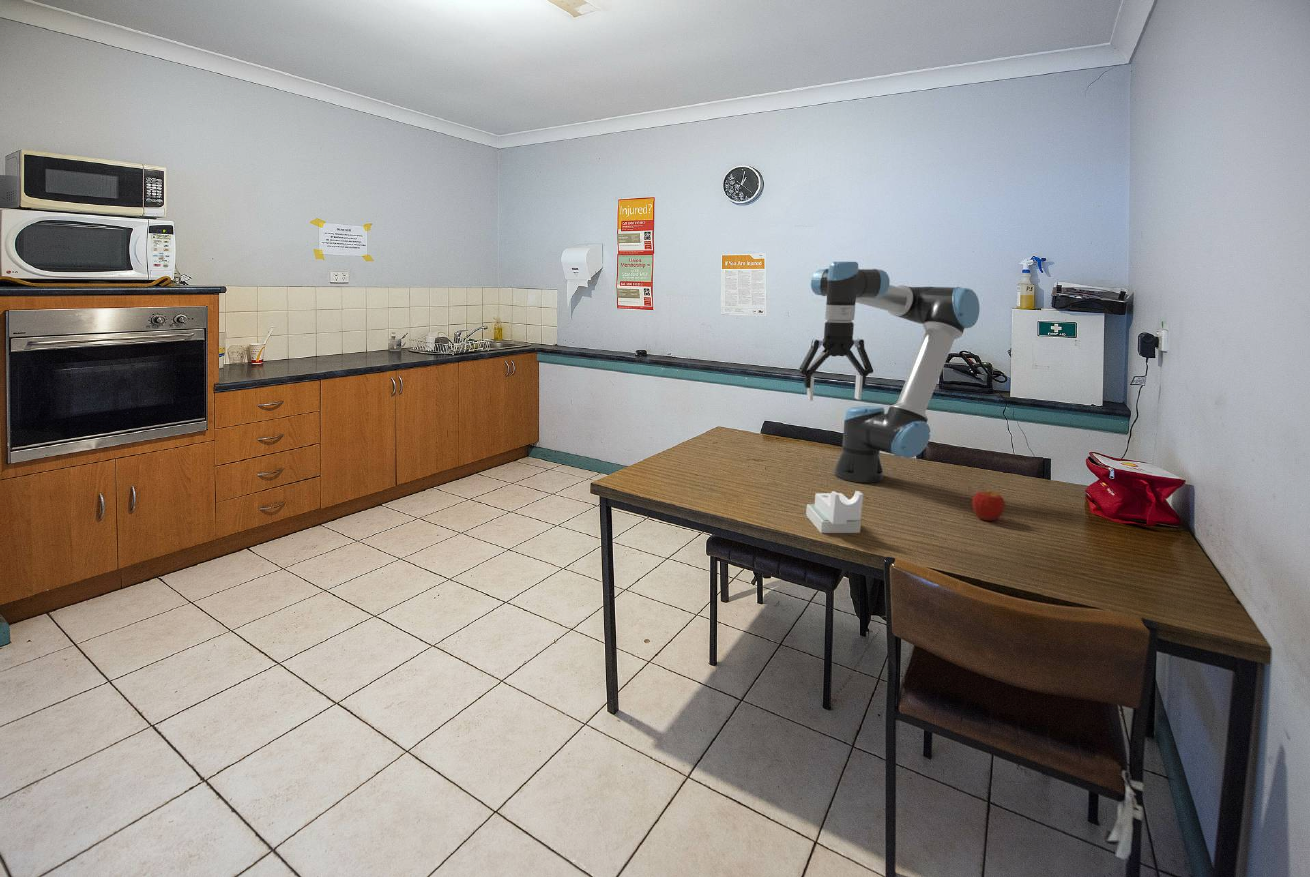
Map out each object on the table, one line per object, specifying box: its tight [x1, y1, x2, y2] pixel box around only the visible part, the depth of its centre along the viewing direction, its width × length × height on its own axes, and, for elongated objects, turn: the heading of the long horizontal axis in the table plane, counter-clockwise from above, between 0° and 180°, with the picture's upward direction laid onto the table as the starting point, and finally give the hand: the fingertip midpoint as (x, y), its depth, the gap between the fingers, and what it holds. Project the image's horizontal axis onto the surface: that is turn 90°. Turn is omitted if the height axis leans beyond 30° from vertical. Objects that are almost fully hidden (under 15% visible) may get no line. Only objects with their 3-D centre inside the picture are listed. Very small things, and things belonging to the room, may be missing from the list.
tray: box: [805, 503, 862, 534], centre depth 172 cm, size 10×13×3 cm
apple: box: [971, 490, 1006, 521], centre depth 178 cm, size 8×8×8 cm
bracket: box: [814, 490, 864, 524], centre depth 168 cm, size 13×7×8 cm, turn 7°
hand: (833, 399), depth 181 cm, fingers open, 13 cm apart
